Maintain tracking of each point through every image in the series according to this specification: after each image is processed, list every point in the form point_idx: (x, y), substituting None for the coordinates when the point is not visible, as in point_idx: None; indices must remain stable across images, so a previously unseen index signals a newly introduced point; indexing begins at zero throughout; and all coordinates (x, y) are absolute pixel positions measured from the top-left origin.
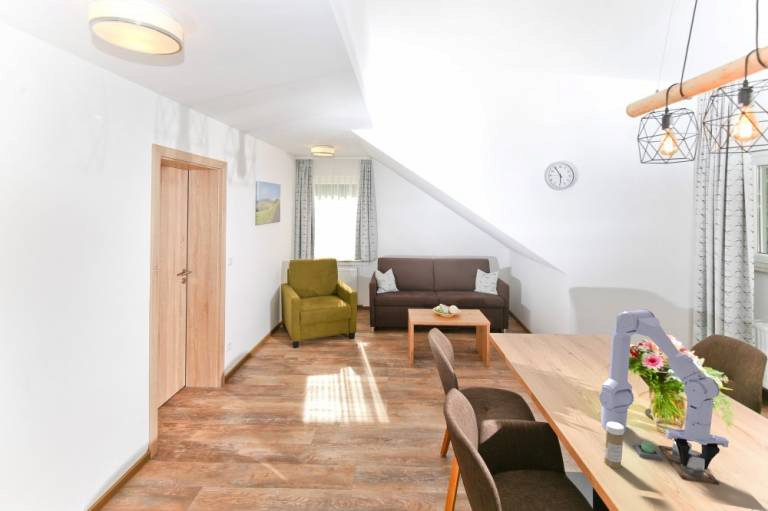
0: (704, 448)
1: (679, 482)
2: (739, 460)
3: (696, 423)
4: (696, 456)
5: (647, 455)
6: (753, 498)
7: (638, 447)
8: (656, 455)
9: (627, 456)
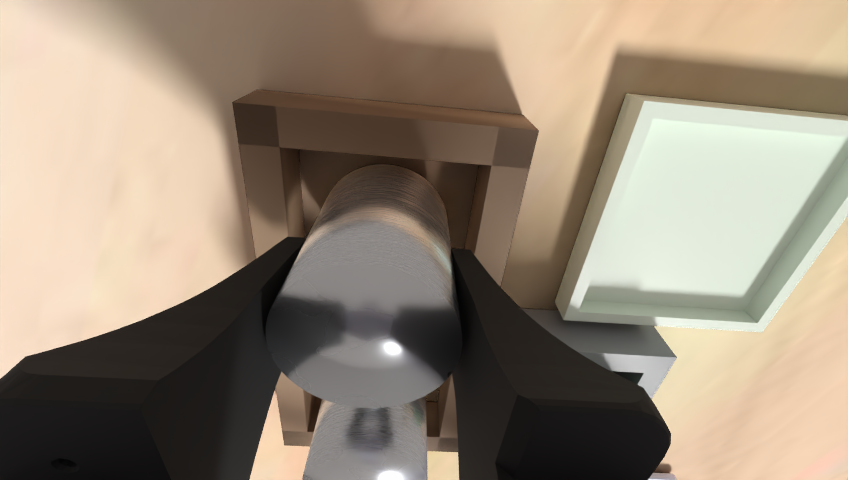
0: (237, 432)
1: None
2: None
3: None
4: (376, 309)
5: (626, 350)
6: (3, 22)
7: None
8: None
9: (682, 347)
